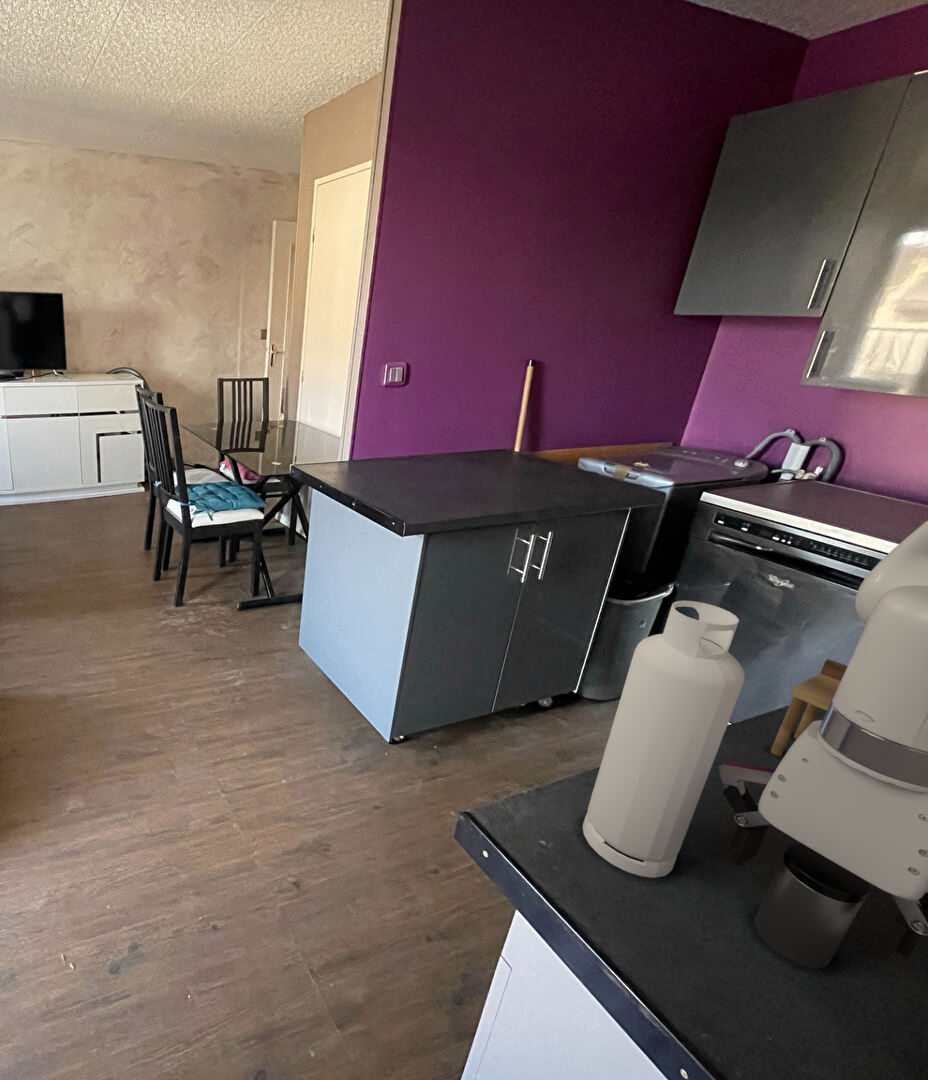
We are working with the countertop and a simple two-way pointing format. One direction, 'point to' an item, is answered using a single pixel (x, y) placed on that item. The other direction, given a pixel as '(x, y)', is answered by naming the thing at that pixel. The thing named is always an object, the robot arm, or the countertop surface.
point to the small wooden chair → (809, 702)
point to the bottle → (664, 740)
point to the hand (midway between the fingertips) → (809, 901)
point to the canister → (809, 906)
